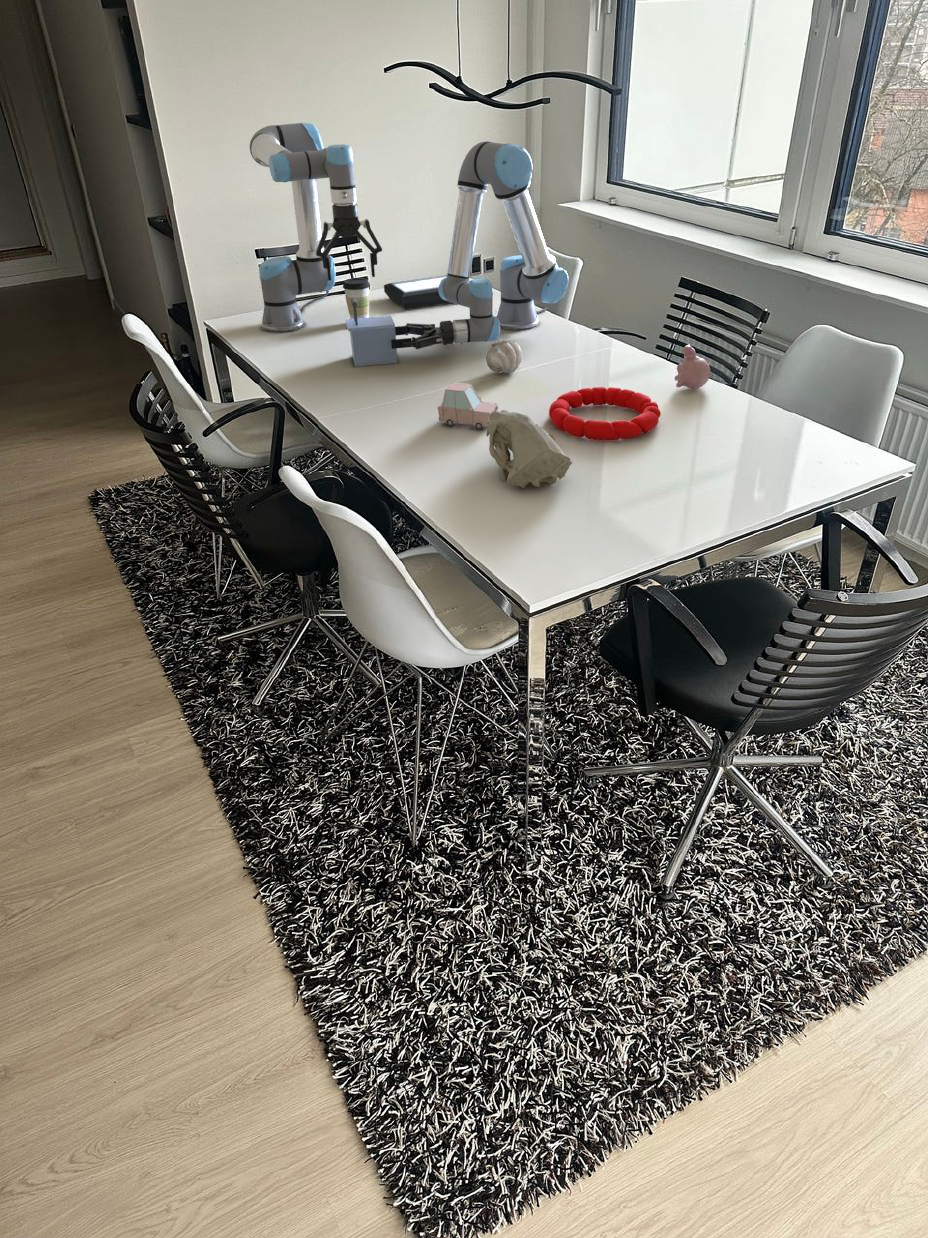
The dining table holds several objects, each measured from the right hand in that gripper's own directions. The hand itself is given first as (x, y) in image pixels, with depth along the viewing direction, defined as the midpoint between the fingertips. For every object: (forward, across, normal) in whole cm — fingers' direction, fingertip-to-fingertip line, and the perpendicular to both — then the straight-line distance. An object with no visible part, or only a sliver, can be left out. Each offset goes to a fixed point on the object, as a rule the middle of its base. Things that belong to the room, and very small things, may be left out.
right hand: (388, 337), depth 289 cm
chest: (+5, 0, -7) cm, 9 cm away
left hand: (+10, +1, +19) cm, 22 cm away
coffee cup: (+6, +43, -7) cm, 44 cm away
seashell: (-33, -24, -7) cm, 42 cm away
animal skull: (-20, -94, -7) cm, 96 cm away
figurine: (-82, -53, -7) cm, 98 cm away
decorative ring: (-50, -70, -7) cm, 86 cm away
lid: (+6, +1, +5) cm, 7 cm away
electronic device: (-25, +66, -7) cm, 71 cm away
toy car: (-14, -61, -7) cm, 63 cm away
